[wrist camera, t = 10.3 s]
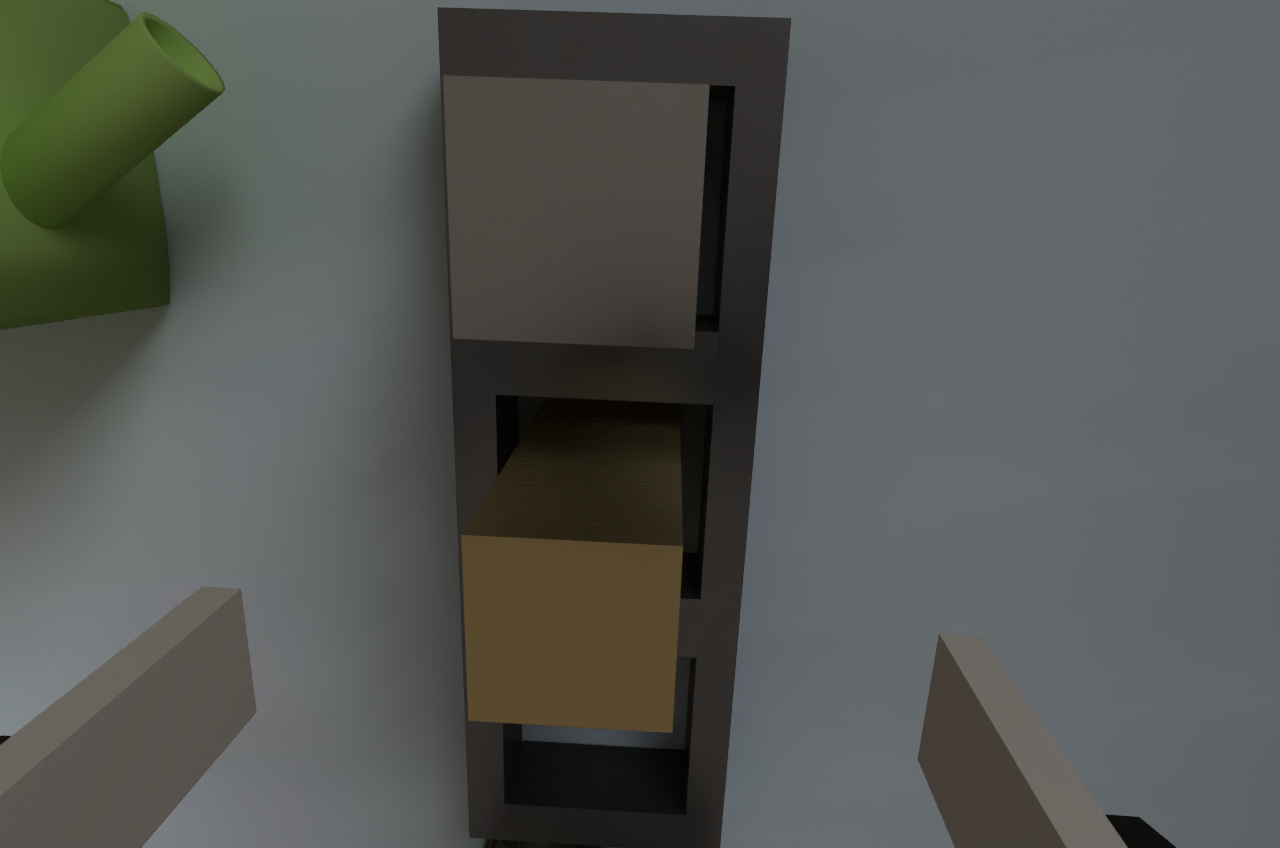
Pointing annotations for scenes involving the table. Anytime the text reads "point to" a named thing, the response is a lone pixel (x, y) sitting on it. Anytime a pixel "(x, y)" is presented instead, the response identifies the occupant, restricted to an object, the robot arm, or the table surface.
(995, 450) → the table surface
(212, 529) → the table surface
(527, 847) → the chalk box
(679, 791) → the dark grey frame bar
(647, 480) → the brass peg
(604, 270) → the zinc peg
